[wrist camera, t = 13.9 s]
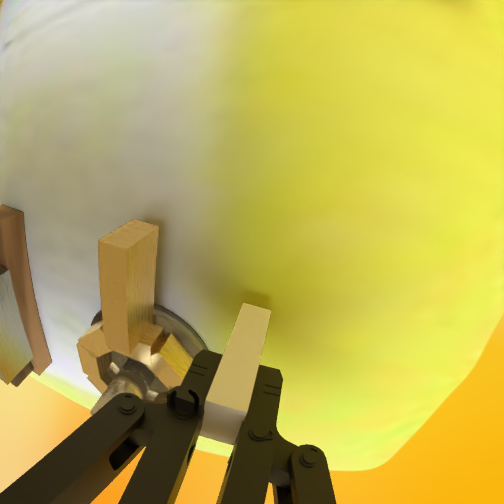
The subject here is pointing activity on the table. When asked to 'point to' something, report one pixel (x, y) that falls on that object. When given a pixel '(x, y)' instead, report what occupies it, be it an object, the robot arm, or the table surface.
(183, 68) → the table surface
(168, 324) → the nut station
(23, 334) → the bar
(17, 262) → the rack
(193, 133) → the table surface
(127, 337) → the golden ring with handle
